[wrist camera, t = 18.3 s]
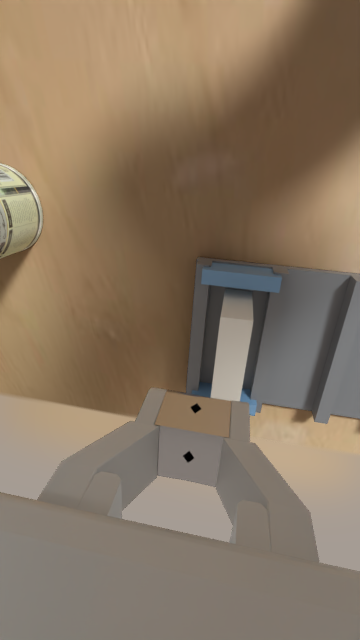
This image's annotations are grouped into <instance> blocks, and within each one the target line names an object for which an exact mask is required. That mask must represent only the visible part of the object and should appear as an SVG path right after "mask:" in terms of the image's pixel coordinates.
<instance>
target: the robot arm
mask: <svg viewBox="0 0 360 640" xmlns="http://www.w3.org/2000/svg"><path fill="white" fill-rule="evenodd" d="M157 475H158V476H163V477H169V478H175V479H181V480H186V481H191V482H196V483H200V484H204V485H208V486H213V487H216V490H217V492H218V495H219V496H220V499H221V501H222V503H223V505H224V508H225V509H226V512H227V514H228V516H229V518H230V520H231V523H232V525H233V528H232V533H231V538H230V543H228V542H224V541H219V540H215V539H210V538H206V537H201V536H197V535H192V534H188V533H183V532H178V531H174V530H169V529H165V528H160V527H156V526H151V525H147V524H142V523H137V522H133V521H128V520H124V519H122V510H123V509H124V508H126V507H127V505H128V504H130V503H131V502H132V501H133V500H134V499H135V498H136V497H137V496H138V495H139V494H140V493H141V492H142V491H143V490H144V489H145V488H146V487H147V486H148V485H149V484H150V483H151V482H152V481H153V480H154V479H156V478H157ZM0 640H360V571H355V570H351V569H346V568H342V567H337V566H332V565H328V564H324V563H319V557H318V552H317V546H316V541H315V536H314V531H313V525H312V519H311V515H310V512H309V510H308V509H307V508H306V506H305V505H304V504H303V503H302V501H301V500H300V499H299V498H298V496H297V495H296V494H295V493H294V491H293V490H292V489H291V488H290V486H289V485H288V484H287V483H286V481H285V480H284V479H283V478H282V476H281V475H280V474H279V473H278V471H277V470H276V469H275V468H274V466H273V465H272V464H271V462H270V461H269V460H268V459H267V458H266V456H265V455H264V454H263V452H262V451H261V450H260V449H259V447H258V446H257V445H256V444H255V443H251V442H250V412H249V403H248V402H241V401H233V400H232V401H229V400H223V399H217V398H210V397H204V396H199V395H194V394H188V393H183V392H177V391H172V390H166V389H160V388H154V387H151V388H150V389H149V391H148V393H147V395H146V398H145V400H144V402H143V404H142V407H141V409H140V411H139V413H138V416H137V418H136V420H135V422H133V421H129V422H127V423H126V424H124V425H123V426H121V427H119V428H117V429H116V430H114V431H112V432H111V433H109V434H107V435H106V436H104V437H102V438H100V439H99V440H97V441H95V442H94V443H92V444H90V445H88V446H87V447H85V448H84V449H82V450H80V451H78V452H77V453H75V454H73V455H72V456H70V457H68V458H67V459H65V460H63V461H61V463H60V464H59V466H58V468H57V469H56V471H55V472H54V474H53V476H52V477H51V479H50V480H49V482H48V483H47V485H46V486H45V488H44V490H43V491H42V493H41V494H40V496H39V497H38V499H37V500H33V499H29V498H24V497H20V496H15V495H11V494H6V493H1V492H0Z"/></svg>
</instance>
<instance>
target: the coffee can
mask: <svg viewBox="0 0 360 640" xmlns="http://www.w3.org/2000/svg"><path fill="white" fill-rule="evenodd" d="M42 226H43V211H42V207H41V203H40V200H39V198H38V195H37V193H36V191H35V190H34V188H33V186H32V185H31V184H30V182H29V181H28V180H27V179H26V178H25V177H24V176H23V175H22V174H21V173H19V172H18V171H17V170H15V169H14V168H12V167H10V166H7V165H5V164H1V163H0V259H1V258H3V257H6V256H8V255H11V254H13V253H16V252H20V251H23V250H26V249H28V248H29V247H31V246H32V245H33V244H34V243H35V242H36V241H37V239H38V237H39V235H40V233H41V230H42Z"/></svg>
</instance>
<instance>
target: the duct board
mask: <svg viewBox="0 0 360 640" xmlns="http://www.w3.org/2000/svg"><path fill="white" fill-rule="evenodd" d="M225 288H226V289H234V290H243V291H252V300H253V327H252V333H251V339H250V344H249V350H248V356H247V362H246V368H245V374H244V380H243V385H242V391H241V397H240V401H241V402H248V403H249V412H250V415H252V416H255V412H258V413H260V412H261V407H262V403H265V404H271V405H277V406H283V407H290V408H296V409H302V410H308V411H312V414H313V418H314V422H319V423H325V424H327V423H328V420H329V417H330V414H333V415H340V416H346V417H352V418H358V419H360V274H357V273H347V272H338V271H328V270H319V269H309V268H299V267H290V266H280V265H271V264H261V263H251V262H242V261H232V260H223V259H213V258H203V257H198V258H197V263H196V275H195V287H194V299H193V311H192V323H191V336H190V348H189V360H188V372H187V384H186V393H188V394H194V395H199V396H204V397H210V398H211V390H212V381H213V373H214V365H215V357H216V349H217V341H218V333H219V325H220V317H221V311H222V305H223V299H224V293H225Z"/></svg>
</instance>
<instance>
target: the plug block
mask: <svg viewBox="0 0 360 640" xmlns="http://www.w3.org/2000/svg"><path fill="white" fill-rule="evenodd" d="M252 327H253V300H252V291H243V290H234V289H226V288H225V293H224V299H223V305H222V311H221V317H220V325H219V333H218V341H217V349H216V357H215V365H214V373H213V381H212V390H211V398H217V399H223V400H229V401H232V400H233V401H240V397H241V391H242V385H243V380H244V374H245V368H246V362H247V356H248V350H249V344H250V339H251V333H252Z"/></svg>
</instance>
